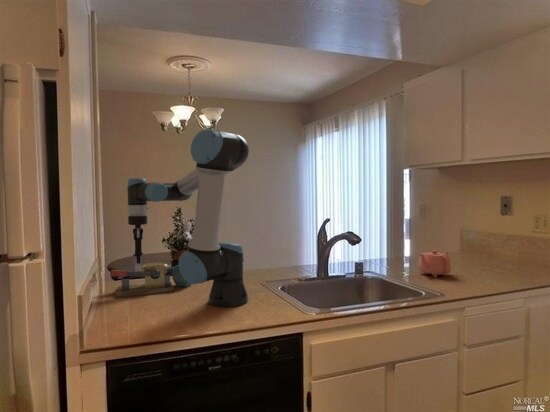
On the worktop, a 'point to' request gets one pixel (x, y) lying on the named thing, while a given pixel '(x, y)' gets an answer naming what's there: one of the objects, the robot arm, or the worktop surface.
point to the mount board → (142, 291)
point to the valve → (149, 282)
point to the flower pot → (179, 277)
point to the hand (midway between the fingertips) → (138, 270)
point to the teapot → (434, 263)
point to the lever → (136, 273)
